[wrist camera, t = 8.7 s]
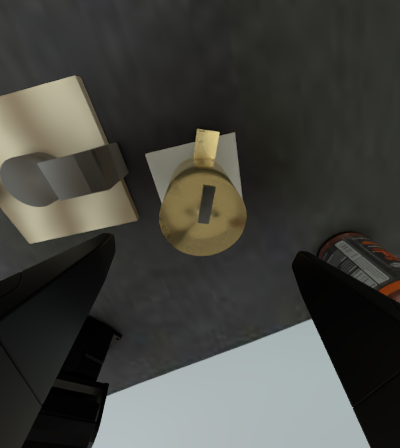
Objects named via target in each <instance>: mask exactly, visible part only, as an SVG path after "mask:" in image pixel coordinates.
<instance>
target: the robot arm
mask: <svg viewBox="0 0 400 448" xmlns="http://www.w3.org/2000/svg"><path fill="white" fill-rule="evenodd" d="M114 254H115V239H114V235H113V234H111V233H102V234H100V235H98V236H96V237H94V238H92V239H90V240H87V241H85V242H83V243H81V244H79V245H77V246H75V247H72V248H70V249H68V250H66V251H64V252H62V253H60V254H57V255H55V256H53V257H51V258H49V259H47V260H45V261H42V262H40V263H38V264H36V265H34V266H32V267H30V268H27V269H25V270H23V271H22V272H19V273H17V274H14V275H12V276H10V277H8V278H6V279H4V280H1V281H0V448H91V447H92V445H93V443H94V440H95V438H96V435H97V433H98V429H99V426H100V422H101V418H102V414H103V409H104V405H105V400H106V395H107V391H108V386H109V383H100V382H96V380H97V378H98V375H99V373H100V370H101V367H102V364H103V363H104V360H105V357H106V355H107V352H108V349H109V346H111V345H113V344H114V343H116V342H118V341H120V340H121V338H122V336H121V335H120V334H118V333H116V332H115V331H113V330H111V329H110V328H108V327H106V326H105V325H103V324H101V323H99V322H98V321H96V320H94V319H93V318H91V317H87V315H88V314H89V312H90V310H91V308H92V306H93V304H94V302H95V300H96V298H97V296H98V294H99V292H100V290H101V288H102V286H103V284H104V281H105V279H106V276H107V273H108V271H109V268H110V265H111V262H112V260H113V257H114ZM292 269H293V272H294V275H295V278H296V281H297V284H298V287H299V290H300V293H301V295H302V298H303V300H304V302H305V304H306V307H307V309H308V311H309V313H310V315H311V318H312V320H313V322H314V324H315V326H316V328H317V331H318V333H319V335H320V337H321V339H322V342H323V344H324V346H325V348H326V350H327V353H328V355H329V357H330V359H331V361H332V363H333V366H334V368H335V370H336V372H337V375H338V377H339V379H340V381H341V383H342V386H343V388H344V390H345V392H346V394H347V397H348V399H349V401H350V403H351V405H352V407H353V410H354V412H355V414H356V417H357V419H358V421H359V423H360V425H361V427H362V430H363V432H364V434H365V436H366V439H367V441H368V443H369V445H370V447H371V448H400V303H399V302H397V301H395V300H394V299H392V298H389V297H388V296H386V295H385V294H383V293H381V292H379V291H377V290H376V289H374V288H372V287H370V286H368V285H367V284H365V283H363V282H361V281H359V280H358V279H356V278H354V277H352V276H350V275H349V274H347V273H345V272H343V271H341V270H340V269H338V268H336V267H334V266H332V265H331V264H329V263H327V262H325V261H324V260H322V259H320V258H318V257H316V256H315V255H313V254H311V253H309V252H306V251H299V252H298V253H297V255H296V257H295V259H294V261H293V263H292Z"/></svg>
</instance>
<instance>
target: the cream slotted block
mask: <svg viewBox="0 0 400 448" xmlns="http://www.w3.org/2000/svg"><path fill="white" fill-rule="evenodd" d="M128 173H129V172H128V169H127V167H126V164H125V162H124V159H123V157H122V154H121V152H120V149H119V147H118V144H117V142H115V143H111V144H109V143H108V141H107V138H106V136H105V134H104V131H103V129H102V126H101V124H100V122H99V119H98V117H97V115H96V112H95V110H94V107H93V105H92V103H91V100H90V98H89V95H88V93H87V91H86V88H85V86H84V84H83V81H82V79H81V77H78V76H76V75H75V76H71V77H68V78H64V79H60V80H57V81H53V82H50V83H46V84H42V85H39V86H35V87H32V88H28V89H25V90H21V91H17V92H14V93H10V94H7V95H3V96H0V208H1V209H2V210H3V211H4V213H5V214H6V215H7V216H8V218H9V219H10V220H11V221H12V223H13V224H14V225H15V226H16V228H17V229H18V230H19V231H20V232H21V234H22V235H23V236H24V237H25V239H26V240H27V241H28V242H29V244H32V243H36V242H41V241H46V240H50V239H55V238H59V237H64V236H69V235H73V234H78V233H83V232H87V231H92V230H96V229H101V228H106V227H110V226H115V225H120V224H124V223H129V222H134V221H138V219H139V214H138V212H137V210H136V207H135V205H134V202H133V200H132V198H131V195H130V193H129V191H128V188H127V186H126V183H125V181H124V179H123V178H124V177H125V176H126V175H127V174H128Z"/></svg>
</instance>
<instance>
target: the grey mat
mask: <svg viewBox="0 0 400 448" xmlns="http://www.w3.org/2000/svg"><path fill="white" fill-rule="evenodd" d="M194 149H195V142H192V143H188V144H184V145H179V146H175V147H171V148H167V149H163V150H159V151H155V152H150V153H146V154H145V156H146V159H147V162H148V165H149V168H150V171H151V174H152V176H153V179H154V182H155V185H156V188H157V191H158V194H159V197H160V200H161V203H162V202H163V199H164V196H165V194H166V191H167V188H168V185H169V182H170V179H171V177H172V174H173V172H174V170H175V169H176V168H177V166H178V165H179V164H181V163H182V162H183V161H185V160H187V159H190V158H193V157H194ZM215 162H217V163H218V164H219V165H220V166H221V167H222V168H223V169H224V171H225V173H226V174H227V176H228V177H229V179H230V180H231V182H232V184H233V185H234V187H235V188H236V190H237V192H238V193H239V195H240V196H241V198H242V190H241V181H240V173H239V164H238V155H237V146H236V138H235V132H233V133H229V134H225V135H221V136H219V139H218V144H217V150H216V156H215ZM242 200H243V199H242Z"/></svg>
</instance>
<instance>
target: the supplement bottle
mask: <svg viewBox="0 0 400 448" xmlns="http://www.w3.org/2000/svg"><path fill="white" fill-rule="evenodd" d="M318 258H320V259H322V260H324V261H325V262H327V263H329V264H331V265H332V266H334V267H336V268H338V269H340V270H341V271H343V272H345V273H347V274H349V275H350V276H352V277H354V278H356V279H358V280H359V281H361V282H363V283H365V284H367V285H368V286H370V287H372V288H374V289H376V290H377V291H379V292H381V293H383V294H385V295H386V296H388V297H389V298H392V299H394V300H395V301H397V302H399V303H400V259H399V258H397V257H396V256H394V255H393V254H391V253H390V252H388V251H387V250H386V249H384V248H382V247H381V246H379V245H378V244H376V243H375V242H374V241H372V240H371V239H369V238H367V237H365V236H364V235H362V234H359V233H343V234H341V235H338V236H336V237H334V238H332V239H330V240H329V241H328V242H327V243H325V245H324V246H323V247H322V249H321V250H320V252H319V255H318Z"/></svg>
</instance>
